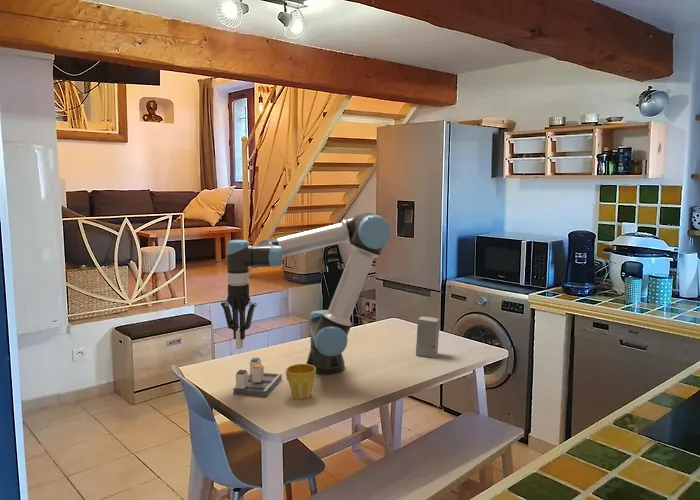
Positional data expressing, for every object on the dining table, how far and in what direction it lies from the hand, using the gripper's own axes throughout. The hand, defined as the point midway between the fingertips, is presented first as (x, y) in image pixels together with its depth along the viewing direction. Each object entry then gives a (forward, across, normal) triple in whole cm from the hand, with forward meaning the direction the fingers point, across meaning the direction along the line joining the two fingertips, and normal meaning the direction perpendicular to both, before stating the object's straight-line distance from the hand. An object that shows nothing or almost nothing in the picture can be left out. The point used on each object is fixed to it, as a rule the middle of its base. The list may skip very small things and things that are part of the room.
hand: (239, 347), depth 201 cm
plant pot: (+14, -24, +4) cm, 29 cm away
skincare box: (+14, -64, -48) cm, 82 cm away
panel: (+14, -7, 0) cm, 16 cm away
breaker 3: (+12, -7, 0) cm, 14 cm away
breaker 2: (+12, -3, -7) cm, 14 cm away
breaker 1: (+12, -3, +6) cm, 14 cm away
